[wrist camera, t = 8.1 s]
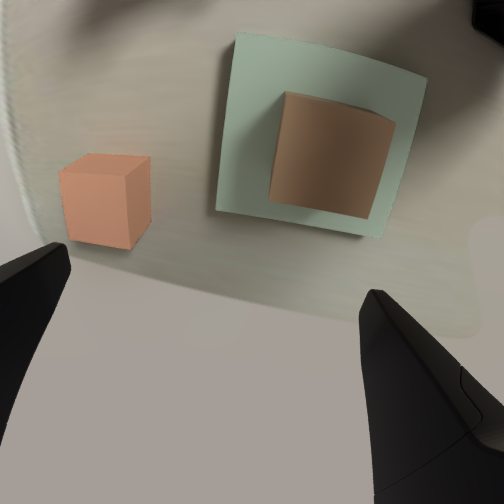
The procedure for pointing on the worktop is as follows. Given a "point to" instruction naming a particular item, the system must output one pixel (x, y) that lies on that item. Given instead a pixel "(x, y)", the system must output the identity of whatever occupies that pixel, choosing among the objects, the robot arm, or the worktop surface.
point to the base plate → (318, 85)
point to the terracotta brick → (107, 199)
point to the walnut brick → (329, 155)
